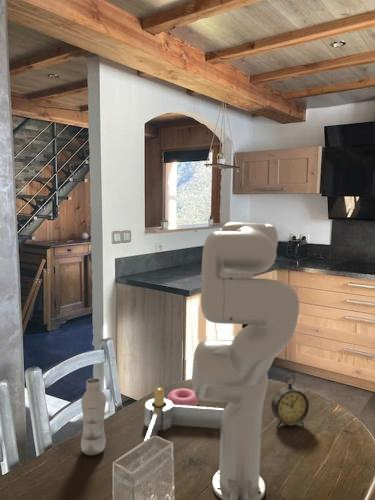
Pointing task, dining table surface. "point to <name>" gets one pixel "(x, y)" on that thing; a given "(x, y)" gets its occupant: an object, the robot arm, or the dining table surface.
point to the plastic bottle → (93, 418)
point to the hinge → (179, 416)
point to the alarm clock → (290, 405)
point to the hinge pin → (159, 397)
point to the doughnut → (183, 397)
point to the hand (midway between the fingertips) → (234, 323)
